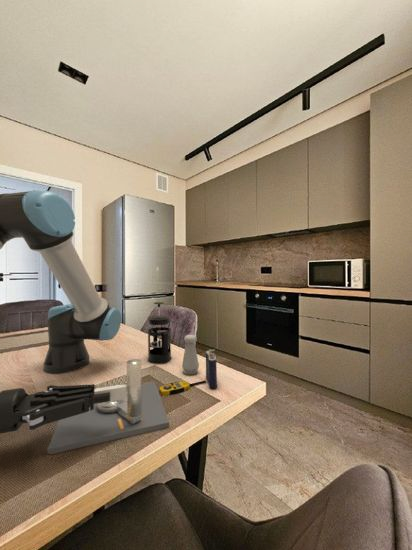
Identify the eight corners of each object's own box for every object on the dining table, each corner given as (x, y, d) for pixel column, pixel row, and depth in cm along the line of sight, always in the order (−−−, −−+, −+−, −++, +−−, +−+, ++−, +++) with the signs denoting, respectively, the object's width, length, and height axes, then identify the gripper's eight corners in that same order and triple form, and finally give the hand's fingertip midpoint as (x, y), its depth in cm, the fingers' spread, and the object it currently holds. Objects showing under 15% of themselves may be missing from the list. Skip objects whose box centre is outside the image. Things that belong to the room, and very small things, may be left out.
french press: (143, 357, 101) (142, 301, 100) (165, 353, 106) (164, 300, 105) (154, 367, 91) (153, 305, 90) (177, 361, 96) (176, 303, 96)
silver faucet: (91, 404, 63) (90, 352, 63) (120, 393, 69) (119, 345, 69) (122, 431, 53) (121, 368, 52) (153, 414, 59) (152, 358, 58)
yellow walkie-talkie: (157, 384, 74) (202, 374, 80) (157, 391, 74) (202, 380, 81) (162, 392, 69) (209, 380, 76) (162, 398, 70) (209, 386, 76)
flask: (205, 376, 82) (205, 345, 82) (213, 376, 83) (213, 344, 83) (209, 390, 73) (209, 354, 73) (219, 389, 74) (219, 354, 73)
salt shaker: (196, 376, 83) (196, 338, 82) (180, 375, 84) (179, 337, 83) (200, 369, 88) (200, 333, 88) (185, 368, 90) (184, 333, 89)
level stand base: (68, 399, 69) (68, 394, 69) (155, 384, 77) (155, 380, 77) (47, 455, 48) (47, 448, 48) (169, 427, 56) (169, 421, 56)
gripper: (11, 413, 53) (125, 394, 61) (-21, 455, 41) (127, 425, 49) (10, 378, 53) (125, 364, 61) (-22, 411, 41) (126, 387, 49)
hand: (126, 391), depth 55 cm, fingers closed
